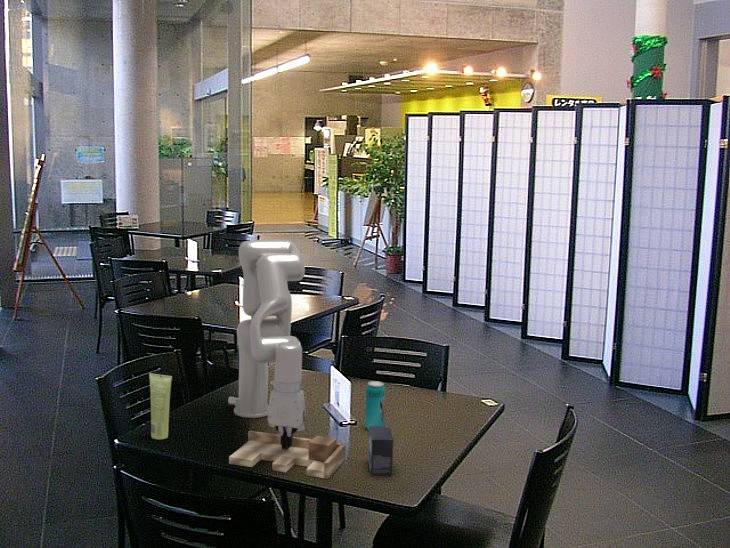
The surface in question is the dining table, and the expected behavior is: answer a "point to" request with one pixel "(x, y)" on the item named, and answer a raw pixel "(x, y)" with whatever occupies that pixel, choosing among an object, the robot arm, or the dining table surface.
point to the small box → (380, 450)
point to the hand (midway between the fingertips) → (286, 447)
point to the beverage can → (374, 404)
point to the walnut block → (321, 448)
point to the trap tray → (285, 454)
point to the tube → (160, 405)
